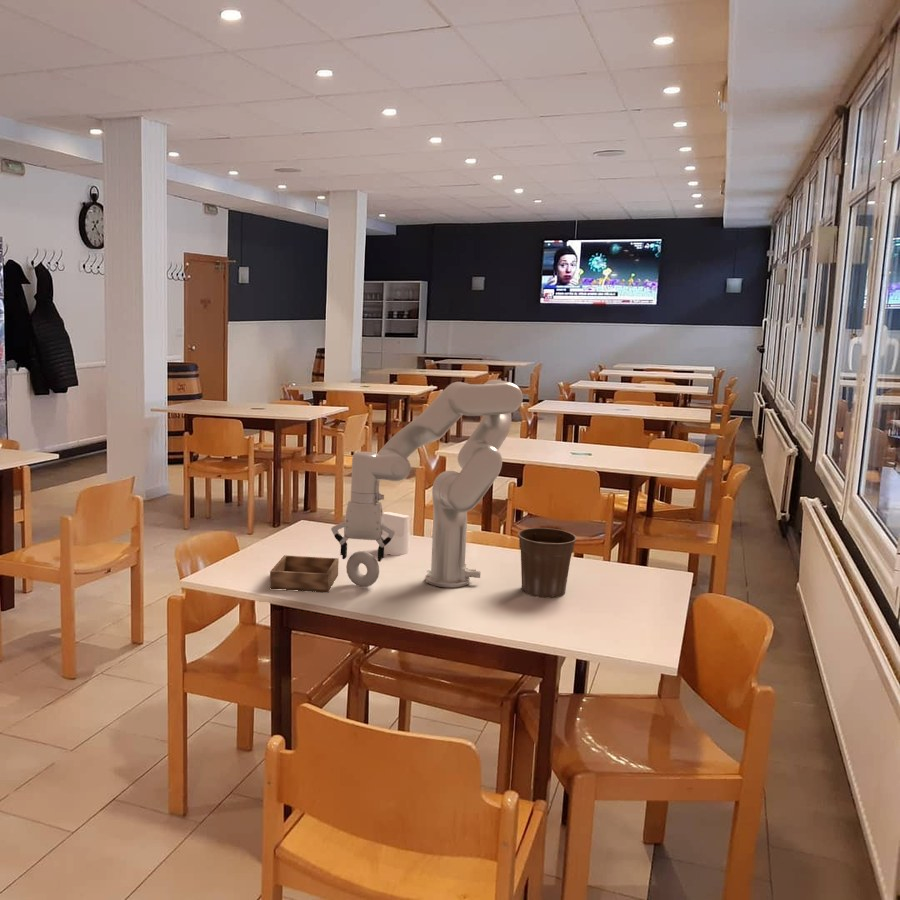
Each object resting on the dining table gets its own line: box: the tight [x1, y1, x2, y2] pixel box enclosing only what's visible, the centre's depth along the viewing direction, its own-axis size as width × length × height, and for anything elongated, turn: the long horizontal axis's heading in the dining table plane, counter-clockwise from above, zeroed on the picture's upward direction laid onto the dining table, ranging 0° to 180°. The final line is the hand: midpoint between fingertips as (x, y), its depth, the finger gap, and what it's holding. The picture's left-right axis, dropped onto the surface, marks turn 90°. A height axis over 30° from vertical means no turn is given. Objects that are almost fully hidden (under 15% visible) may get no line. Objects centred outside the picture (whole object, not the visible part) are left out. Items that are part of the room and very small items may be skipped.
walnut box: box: [269, 555, 339, 593], centre depth 229 cm, size 16×16×5 cm
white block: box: [381, 511, 411, 556], centre depth 263 cm, size 9×9×12 cm
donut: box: [346, 550, 380, 588], centre depth 227 cm, size 10×4×10 cm, turn 64°
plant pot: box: [517, 527, 578, 598], centre depth 230 cm, size 16×16×16 cm
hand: (362, 559), depth 226 cm, fingers open, 9 cm apart
